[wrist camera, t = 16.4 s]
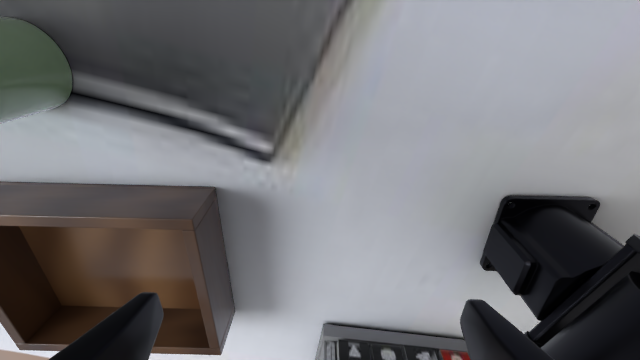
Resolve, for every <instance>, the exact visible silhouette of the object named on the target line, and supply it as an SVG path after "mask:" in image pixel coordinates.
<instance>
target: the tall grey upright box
mask: <svg viewBox="0 0 640 360" xmlns="http://www.w3.org/2000/svg"><path fill="white" fill-rule="evenodd" d="M315 360H470V356H469V353H468V350H467V346H466V343H465V340H462V339H451V338H442V337H433V336H424V335H415V334H406V333H397V332H389V331H380V330H371V329H362V328H353V327H344V326H335V325H331V324H323V328H322V332H321V337H320V341H319V345H318V349H317V354H316V358H315Z"/></svg>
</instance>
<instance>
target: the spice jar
mask: <svg viewBox="0 0 640 360" xmlns="http://www.w3.org/2000/svg"><path fill="white" fill-rule="evenodd" d="M72 85H73V79H72V73H71V69H70V66H69V64H68V61H67V59H66V57H65V56H64V54H63V52H62V51H61V49H60V48H59V47H58V45H57V44H56V43H55V42H54V41H53V40H52V39H51V38H50V37H49V36H48V35H47V34H46V33H44V32H43V31H42V30H40V29H39V28H37V27H36V26H34V25H32V24H30V23H28V22H26V21H23V20H21V19H17V18H12V17H0V124H2V123H5V122H9V121H12V120H15V119H19V118H22V117H26V116H29V115H33V114H36V113H40V112H43V111H47V110H50V109H53V108H56V107H59V106H61V105H62V104H63V103H65V102H66V100H67V99H68V98H69V96H70V94H71V91H72Z"/></svg>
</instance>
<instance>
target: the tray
mask: <svg viewBox="0 0 640 360" xmlns="http://www.w3.org/2000/svg"><path fill="white" fill-rule="evenodd" d="M142 292H155V293H157V294H158V296H159V299H160V302H161V305H162V308H163V313H164V315H163V320H162V323H161V326H160V329H159V331H158V334H157V337H156V340H155V342H154V345H153V348H152V351H151V353H159V354H199V355H221V354H222V351H223V348H224V344H225V341H226V338H227V335H228V332H229V329H230V326H231V322H232V319H233V316H234V313H235V308H234V302H233V296H232V290H231V284H230V277H229V271H228V265H227V259H226V253H225V246H224V240H223V234H222V228H221V222H220V215H219V209H218V203H217V197H216V191H215V187H192V186H149V185H106V184H64V183H21V182H0V323H1V324H2V325H3V327H4V328H5V330H6V331H7V333H8V334H9V335H10V337H11V338H12V340H13V341H14V342H15V343H16V345H17V347H18V348H19V350H40V351H61V350H63V349H64V348H65V347H67V346H68V345H69V344H71V343H72V342H74V341H75V340H76V339H78V338H79V337H80V336H82V335H83V334H85V333H86V332H87V331H89V330H90V329H91V328H93V327H94V326H96V325H97V324H98V323H100V322H101V321H102V320H104V319H105V318H107V317H108V316H109V315H111V314H112V313H113V312H115V311H116V310H118V309H119V308H120V307H122V306H123V305H124V304H126V303H127V302H129V301H130V300H131V299H133V298H134V297H135V296H137V295H138V294H140V293H142Z"/></svg>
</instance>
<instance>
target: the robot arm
mask: <svg viewBox="0 0 640 360" xmlns="http://www.w3.org/2000/svg"><path fill="white" fill-rule="evenodd" d="M510 202H512V203H511V204H509V203H510ZM508 204H509V205H508ZM599 206H600V203H599V202H598V201H597V200H595V199H594V198H591V197H549V196H506V197H505V198H503V199H502V201H501V203H500V206H499V209H498V212H497V215H496V218H495V221H494V223H493V225H492V227H491V230H490V233H489V236H488V239H487V242H486V245H485V248H484V250H483V255H482V258H481V261H480V265H481V267H482V268H483V269H484V270H486V271H497V272H498V273H499V274H500V276H501V277H502V279H503V280H504V281H505V283H506V284H507V286H508V287H509V288H510V290H511V291H512V292H513V293H514V294H515V295H520V296H521V298H522V299H523V300H524V302H525V303H526V304H527V306H528V307H529V308H530V310H531V311H532V312H533V314H534V315H535V317H536V318H537V319H538V320H540V321H541V322H540V323H539V324H537V325H536V326H535V327H534V328H533V329H532V330H531V331H530V332H528V331H527V332H526V333H525V334H523V333H522V332H521V331H519V330H518V329H517V328H516V327H515V326H514V325H512V324H511V323H510V322H509V321H508V320H506V319H505V318H504V317H503V316H502V315H500V314H499V313H498V312H497V311H496V310H494V309H493V308H492V307H491V306H490V305H488V304H487V303H486V302H485V301H483V300H475V299H470V300H467V301H466V304H465V306H464V309H463V312H462V315H461V319H460V324H461V329H462V332H463V336H464V339H465V343H466V346H467V350H468V353H469V356H470V360H640V236H637V235H635V234H634V235H633V236H631V237H630V238H629V239H628V240H627V241H626V243H627V244H626V245H625V246H624V245H622V244H621V243H620V242H618V241H617V240H615V239H614V238H613V237H611V236H610V235H608V234H607V233H606V232H604V231H603V230H601V229H600V228H599V227H597V226H596V225H595V224H593V223H592V220H593V218H594V216H595V214H596V212H597V210H598V208H599ZM488 263H489V264H488ZM163 315H164V313H163V308H162V305H161V302H160V299H159V296H158V294H157V293H155V292H142V293H140V294H138V295H137V296H135V297H134V298H133V299H131V300H130V301H129V302H127V303H126V304H124V305H123V306H122V307H120V308H119V309H118V310H116V311H115V312H113V313H112V314H111V315H109V316H108V317H107V318H105V319H104V320H102V321H101V322H100V323H98V324H97V325H96V326H94V327H93V328H91V329H90V330H89V331H87V332H86V333H85V334H83V335H82V336H80V337H79V338H78V339H76V340H75V341H74V342H72V343H71V344H69V345H68V346H67V347H65V348H64V349H63V350H61V351H60V352H58V353H57V354H56V355H54V356H53V357H52V358H50V359H49V360H148V359H149V356H150V353H151V351H152V348H153V345H154V342H155V340H156V337H157V334H158V331H159V329H160V326H161V323H162V320H163Z"/></svg>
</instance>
